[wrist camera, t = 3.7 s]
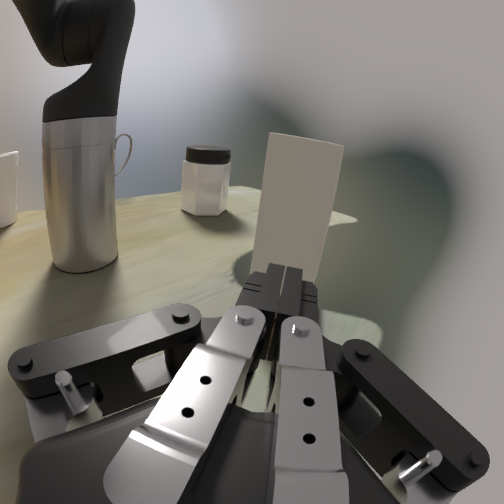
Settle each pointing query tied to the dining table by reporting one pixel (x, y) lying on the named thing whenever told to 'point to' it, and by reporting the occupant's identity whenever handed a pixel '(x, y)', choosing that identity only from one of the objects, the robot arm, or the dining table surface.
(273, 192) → the white grey block
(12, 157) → the foam cup
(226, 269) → the dining table surface
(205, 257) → the dining table surface
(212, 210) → the jar
